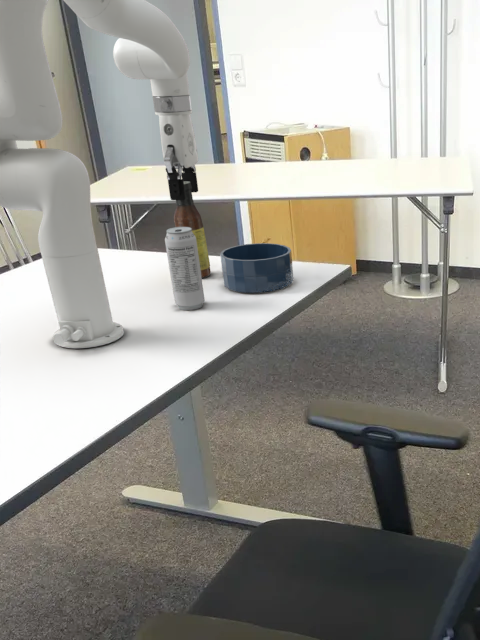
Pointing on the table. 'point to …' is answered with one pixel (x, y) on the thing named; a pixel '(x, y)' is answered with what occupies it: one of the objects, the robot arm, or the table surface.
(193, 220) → the sauce bottle
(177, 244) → the energy drink can
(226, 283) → the navy blue bowl
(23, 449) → the table surface
